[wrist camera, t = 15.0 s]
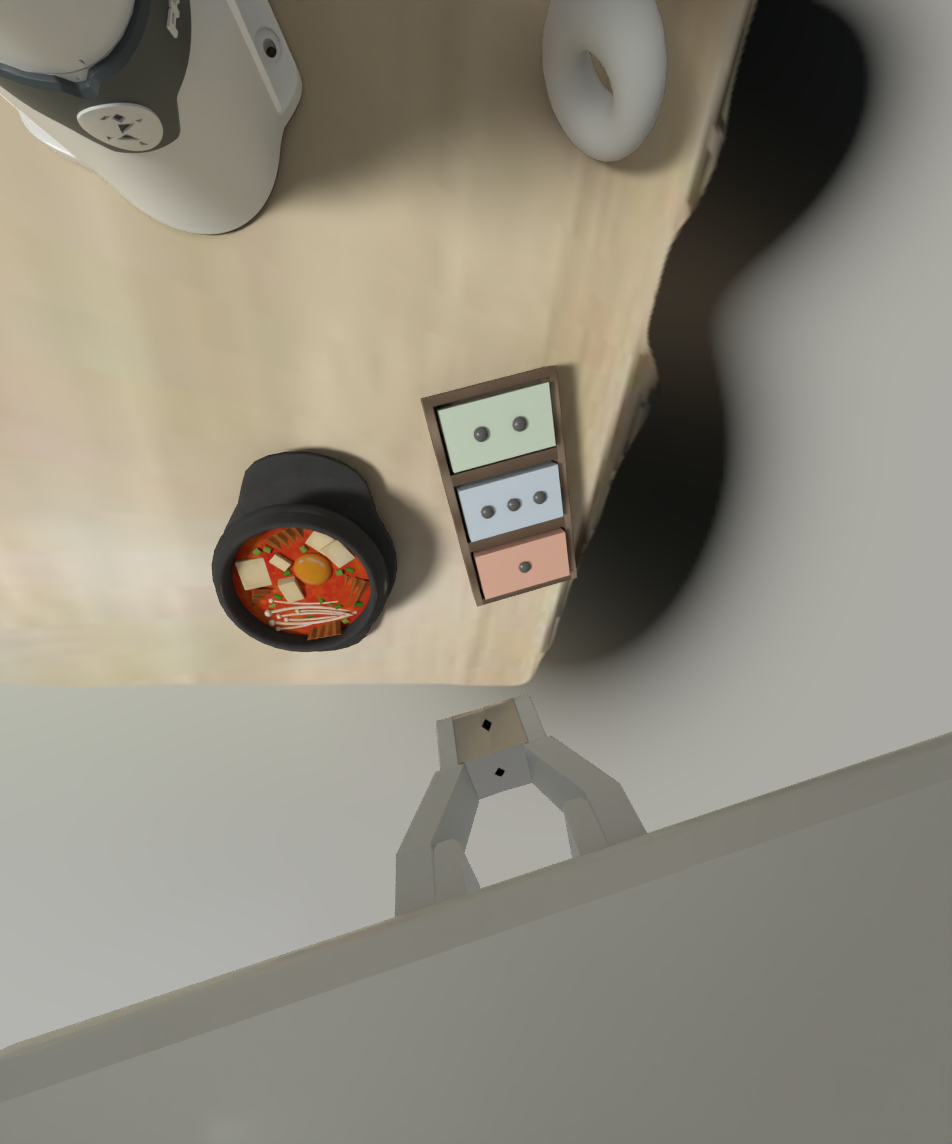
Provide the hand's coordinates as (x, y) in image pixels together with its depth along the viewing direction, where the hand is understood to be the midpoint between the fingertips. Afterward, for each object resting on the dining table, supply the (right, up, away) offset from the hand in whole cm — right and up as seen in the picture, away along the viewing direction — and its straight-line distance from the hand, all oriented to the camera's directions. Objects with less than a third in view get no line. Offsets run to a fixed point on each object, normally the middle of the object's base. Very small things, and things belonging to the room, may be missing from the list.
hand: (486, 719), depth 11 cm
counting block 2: (+3, +13, +31) cm, 34 cm away
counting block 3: (+5, +7, +35) cm, 36 cm away
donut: (+8, +42, +19) cm, 47 cm away
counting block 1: (+1, +20, +28) cm, 34 cm away
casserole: (-19, +6, +32) cm, 38 cm away
